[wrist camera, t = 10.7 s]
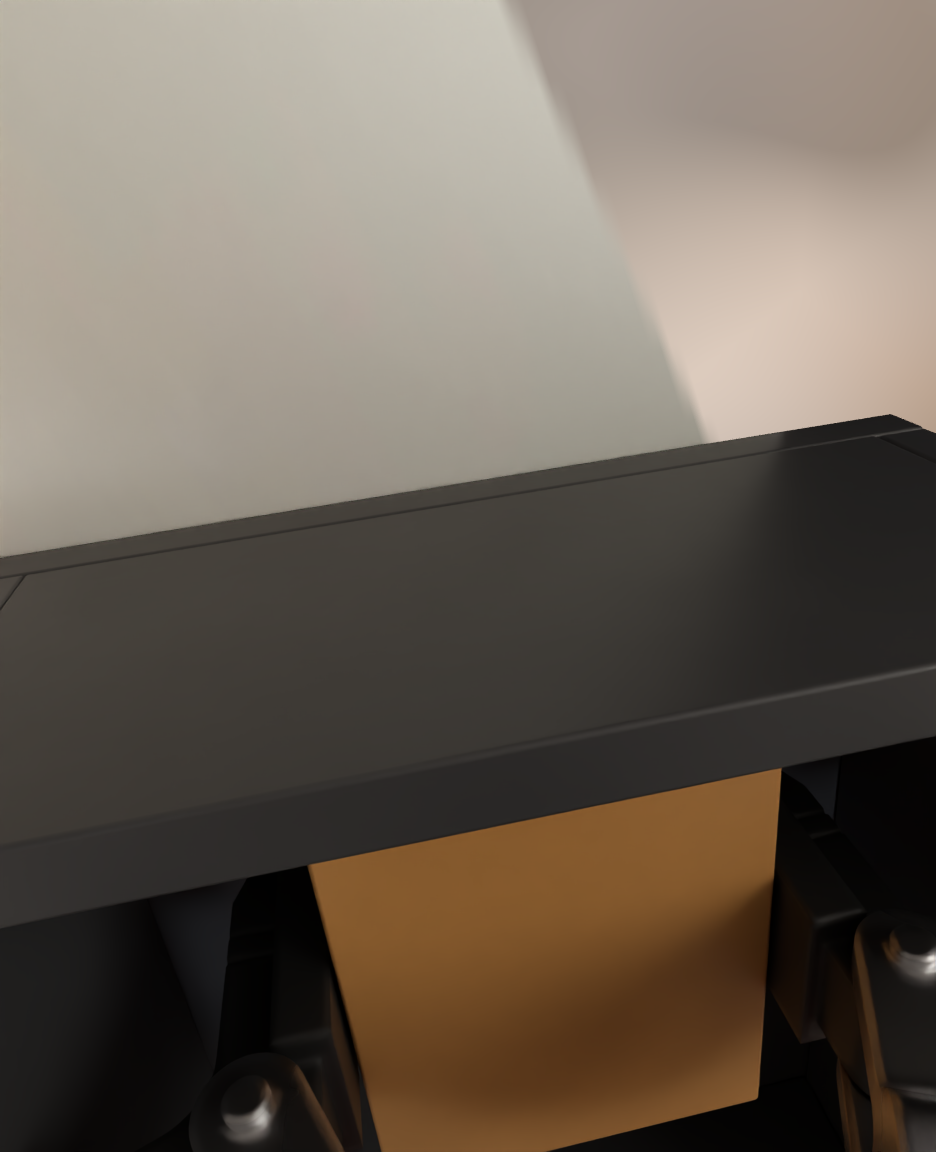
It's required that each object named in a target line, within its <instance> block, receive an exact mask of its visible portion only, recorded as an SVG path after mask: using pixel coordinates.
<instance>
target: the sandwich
mask: <svg viewBox="0 0 936 1152" xmlns="http://www.w3.org/2000/svg"><path fill="white" fill-rule="evenodd" d="M781 769H782V768H779V769H774V770H769V771H764V772H760V773H755V774H750V775H745V776H740V777H735V778H730V779H725V780H721V781H716V782H711V783H706V784H701V785H696V786H691V787H687V788H682V789H677V790H672V791H667V792H662V793H657V794H653V795H648V796H643V797H638V798H633V799H628V800H623V801H619V802H614V803H609V804H604V805H599V806H594V807H589V808H584V809H580V810H575V811H570V812H565V813H560V814H555V815H550V816H546V817H541V818H536V819H531V820H526V821H521V822H516V823H512V824H507V825H502V826H497V827H492V828H487V829H482V830H478V831H473V832H468V833H463V834H458V835H453V836H448V837H443V838H439V839H434V840H429V841H424V842H419V843H414V844H409V845H405V846H400V847H395V848H390V849H385V850H380V851H375V852H371V853H366V854H361V855H356V856H351V857H346V858H341V859H337V860H332V861H327V862H322V863H317V864H312V865H307V867H308V871H309V874H310V878H311V882H312V886H313V890H314V894H315V898H316V901H317V905H318V909H319V913H320V917H321V921H322V925H323V928H324V932H325V936H326V940H327V944H328V948H329V952H330V956H331V959H332V963H333V967H334V971H335V975H336V979H337V983H338V986H339V990H340V994H341V998H342V1002H343V1006H344V1010H345V1013H346V1017H347V1021H348V1025H349V1029H350V1033H351V1037H352V1040H353V1044H354V1048H355V1052H356V1056H357V1060H358V1064H359V1068H360V1071H361V1075H362V1079H363V1083H364V1087H365V1091H366V1095H367V1098H368V1102H369V1106H370V1110H371V1114H372V1118H373V1122H374V1125H375V1129H376V1133H377V1137H378V1141H379V1145H380V1149H381V1152H546V1151H550V1150H554V1149H558V1148H563V1147H567V1146H571V1145H575V1144H579V1143H583V1142H587V1141H591V1140H595V1139H599V1138H603V1137H607V1136H611V1135H615V1134H619V1133H623V1132H627V1131H631V1130H635V1129H639V1128H643V1127H647V1126H651V1125H655V1124H659V1123H663V1122H667V1121H671V1120H675V1119H679V1118H683V1117H688V1116H692V1115H696V1114H700V1113H704V1112H708V1111H712V1110H716V1109H720V1108H724V1107H728V1106H732V1105H736V1104H740V1103H744V1102H748V1101H752V1100H755V1099H757V1098H758V1091H759V1077H760V1063H761V1049H762V1035H763V1021H764V1007H765V993H766V979H767V965H768V951H769V937H770V923H771V909H772V895H773V881H774V867H775V853H776V839H777V825H778V811H779V797H780V783H781Z"/></svg>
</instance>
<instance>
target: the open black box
mask: <svg viewBox="0 0 936 1152" xmlns="http://www.w3.org/2000/svg"><path fill="white" fill-rule="evenodd" d="M779 768H782V769H781V771H783V772H784V773H786V774H788V775H789V776H791V777H792V778H794V779H796V780H797V781H799V782H800V783H802V784H804V785H805V786H806V787H807V789H808V790H809V791H810V792H811V794H812V795H813V796H814V797H815V798H816V800H817V801H818V802H819V803H820V805H821V806H822V807H823V808H824V811H825V814H829V816H830V817H831V818H832V819H833V820H834V822H835V823H836V824H837V825H838V827H839V828H840V831H841V833H842V834H845V835H846V836H847V838H848V839H849V840H850V841H851V843H852V844H853V845H854V846H855V847H856V849H857V850H858V851H859V852H860V854H861V855H862V856H863V857H864V858H865V860H866V861H867V862H868V863H869V865H870V866H871V867H872V868H873V869H874V871H875V872H876V873H877V874H878V876H879V877H880V878H881V879H882V880H883V882H884V883H885V884H886V885H887V887H888V888H889V889H890V890H891V892H892V893H893V894H894V895H895V896H896V898H897V899H898V900H899V901H900V903H901V904H902V905H903V906H904V907H905V908H906V909H907V910H909V911H914V912H918V913H921V914H924V915H927V916H929V917H931V918H934V919H936V433H934V432H931V431H929V430H926V429H922V427H921V426H919V425H916V424H914V423H911V422H909V421H906V420H904V419H901V418H899V417H897V416H894V415H891V414H889V415H883V416H877V417H871V418H864V419H858V420H852V421H846V422H840V423H834V424H827V425H822V426H815V427H809V428H803V429H797V430H790V431H784V432H778V433H772V434H765V435H759V436H754V437H747V438H741V439H735V440H728V441H723V442H716V443H710V444H703V445H697V446H691V447H685V448H679V449H672V450H666V451H660V452H654V453H648V454H641V455H635V456H629V457H623V458H617V459H611V460H604V461H598V462H592V463H586V464H580V465H573V466H567V467H561V468H555V469H549V470H542V471H536V472H530V473H524V474H518V475H512V476H505V477H499V478H493V479H487V480H481V481H474V482H468V483H462V484H456V485H450V486H443V487H437V488H431V489H425V490H419V491H413V492H406V493H400V494H394V495H388V496H382V497H375V498H369V499H363V500H357V501H351V502H344V503H338V504H332V505H326V506H320V507H313V508H307V509H301V510H295V511H289V512H283V513H276V514H270V515H264V516H258V517H252V518H245V519H239V520H233V521H227V522H221V523H214V524H208V525H202V526H196V527H190V528H184V529H177V530H171V531H165V532H159V533H153V534H146V535H140V536H134V537H128V538H122V539H115V540H109V541H103V542H97V543H91V544H85V545H78V546H72V547H66V548H60V549H54V550H47V551H41V552H35V553H29V554H23V555H16V556H10V557H4V558H0V1152H75V1151H89V1152H135V1151H136V1150H138V1149H140V1148H142V1147H143V1146H145V1145H147V1144H149V1143H150V1142H152V1141H154V1140H156V1139H157V1138H159V1137H161V1136H162V1135H164V1134H165V1133H167V1132H169V1131H170V1130H171V1129H173V1128H174V1127H175V1126H176V1125H178V1124H179V1123H180V1122H181V1121H182V1120H183V1119H184V1118H185V1117H186V1116H187V1115H188V1114H189V1113H190V1112H191V1111H192V1109H193V1106H194V1104H195V1102H196V1099H197V1097H198V1096H199V1094H200V1092H201V1091H202V1089H203V1088H204V1086H205V1085H206V1084H207V1083H208V1082H209V1080H210V1079H211V1078H212V1075H213V1072H214V1069H215V1064H216V1057H217V1047H218V1038H219V1028H220V1019H221V1010H222V1000H223V991H224V981H225V972H226V966H227V953H228V943H229V940H230V924H231V915H232V905H233V902H234V900H235V899H236V897H237V895H238V893H239V892H240V890H241V888H242V886H243V884H244V883H245V881H246V879H247V878H249V877H254V876H259V875H264V874H268V873H273V872H278V871H283V870H288V869H293V868H298V867H302V866H307V865H312V864H317V863H322V862H327V861H332V860H337V859H341V858H346V857H351V856H356V855H361V854H366V853H371V852H375V851H380V850H385V849H390V848H395V847H400V846H405V845H409V844H414V843H419V842H424V841H429V840H434V839H439V838H443V837H448V836H453V835H458V834H463V833H468V832H473V831H478V830H482V829H487V828H492V827H497V826H502V825H507V824H512V823H516V822H521V821H526V820H531V819H536V818H541V817H546V816H550V815H555V814H560V813H565V812H570V811H575V810H580V809H584V808H589V807H594V806H599V805H604V804H609V803H614V802H619V801H623V800H628V799H633V798H638V797H643V796H648V795H653V794H657V793H662V792H667V791H672V790H677V789H682V788H687V787H691V786H696V785H701V784H706V783H711V782H716V781H721V780H725V779H730V778H735V777H740V776H745V775H750V774H755V773H760V772H764V771H769V770H774V769H779ZM837 1060H838V1056H837V1055H836V1053H835V1051H834V1050H833V1048H832V1046H831V1045H830V1043H829V1041H828V1040H827V1038H823V1039H819V1040H815V1041H811V1042H807V1043H803V1044H800V1042H799V1040H798V1038H797V1037H796V1035H795V1033H794V1031H793V1030H792V1028H791V1026H790V1024H789V1023H788V1021H787V1019H786V1017H785V1016H784V1014H783V1012H782V1010H781V1008H780V1007H779V1005H778V1003H777V1001H776V1000H775V998H774V996H773V994H772V993H771V991H770V989H769V987H768V986H767V984H766V993H765V1007H764V1021H763V1035H762V1049H761V1063H760V1077H759V1091H758V1098H757V1099H755V1100H752V1101H748V1102H744V1103H740V1104H736V1105H732V1106H728V1107H724V1108H720V1109H716V1110H712V1111H708V1112H704V1113H700V1114H696V1115H692V1116H688V1117H683V1118H679V1119H675V1120H671V1121H667V1122H663V1123H659V1124H655V1125H651V1126H647V1127H643V1128H639V1129H635V1130H631V1131H627V1132H623V1133H619V1134H615V1135H611V1136H607V1137H603V1138H599V1139H595V1140H591V1141H587V1142H583V1143H579V1144H575V1145H571V1146H567V1147H563V1148H558V1149H554V1150H550V1151H546V1152H845V1145H844V1136H843V1128H842V1120H841V1112H840V1103H839V1095H838V1087H837V1079H836V1067H837ZM358 1068H359V1064H358ZM359 1086H360V1104H361V1122H362V1140H363V1149H359V1150H354V1151H350V1152H381V1149H380V1145H379V1141H378V1137H377V1133H376V1129H375V1125H374V1122H373V1118H372V1114H371V1110H370V1106H369V1102H368V1098H367V1095H366V1091H365V1087H364V1083H363V1079H362V1075H361V1071H360V1068H359Z"/></svg>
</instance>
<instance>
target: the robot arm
mask: <svg viewBox="0 0 936 1152" xmlns="http://www.w3.org/2000/svg"><path fill="white" fill-rule="evenodd" d="M766 984H767V986H768V987H769V989H770V991H771V993H772V994H773V996H774V998H775V1000H776V1001H777V1003H778V1005H779V1007H780V1008H781V1010H782V1012H783V1014H784V1016H785V1017H786V1019H787V1021H788V1023H789V1024H790V1026H791V1028H792V1030H793V1031H794V1033H795V1035H796V1037H797V1038H798V1040H799V1042H800V1044H803V1043H807V1042H811V1041H815V1040H819V1039H823V1038H827V1040H828V1041H829V1043H830V1045H831V1046H832V1048H833V1050H834V1051H835V1053H836V1055H837V1056H838V1060H837V1067H836V1079H837V1087H838V1095H839V1103H840V1112H841V1120H842V1128H843V1136H844V1145H845V1152H936V919H934V918H931V917H929V916H927V915H924V914H921V913H918V912H914V911H909V910H907V909H906V908H905V907H904V906H903V905H902V904H901V903H900V901H899V900H898V899H897V898H896V896H895V895H894V894H893V893H892V892H891V890H890V889H889V888H888V887H887V885H886V884H885V883H884V882H883V880H882V879H881V878H880V877H879V876H878V874H877V873H876V872H875V871H874V869H873V868H872V867H871V866H870V865H869V863H868V862H867V861H866V860H865V858H864V857H863V856H862V855H861V854H860V852H859V851H858V850H857V849H856V847H855V846H854V845H853V844H852V843H851V841H850V840H849V839H848V838H847V836H846V835H845V834H842V833H841V831H840V828H839V827H838V825H837V824H836V823H835V822H834V820H833V819H832V818H831V817H830V816H829V814H825V811H824V808H823V807H822V806H821V805H820V803H819V802H818V801H817V800H816V798H815V797H814V796H813V795H812V794H811V792H810V791H809V790H808V789H807V787H806V786H805V785H804V784H802V783H800V782H799V781H797V780H796V779H794V778H792V777H791V776H789V775H788V774H786V773H784V772H783V771H781V783H780V797H779V811H778V825H777V839H776V853H775V867H774V881H773V895H772V909H771V923H770V937H769V951H768V965H767V979H766ZM359 1149H363V1140H362V1122H361V1104H360V1086H359V1068H358V1060H357V1056H356V1052H355V1048H354V1044H353V1040H352V1037H351V1033H350V1029H349V1025H348V1021H347V1017H346V1013H345V1010H344V1006H343V1002H342V998H341V994H340V990H339V986H338V983H337V979H336V975H335V971H334V967H333V963H332V959H331V956H330V952H329V948H328V944H327V940H326V936H325V932H324V928H323V925H322V921H321V917H320V913H319V909H318V905H317V901H316V898H315V894H314V890H313V886H312V882H311V878H310V874H309V871H308V867H307V866H302V867H298V868H293V869H288V870H283V871H278V872H273V873H268V874H264V875H259V876H254V877H249V878H247V879H246V881H245V883H244V884H243V886H242V888H241V890H240V892H239V893H238V895H237V897H236V899H235V900H234V902H233V905H232V915H231V924H230V940H229V943H228V953H227V966H226V972H225V981H224V991H223V1000H222V1010H221V1019H220V1028H219V1038H218V1047H217V1057H216V1064H215V1069H214V1072H213V1075H212V1078H211V1079H210V1080H209V1082H208V1083H207V1084H206V1085H205V1086H204V1088H203V1089H202V1091H201V1092H200V1094H199V1096H198V1097H197V1099H196V1102H195V1104H194V1106H193V1109H192V1111H191V1112H190V1113H189V1114H188V1115H187V1116H186V1117H185V1118H184V1119H183V1120H182V1121H181V1122H180V1123H179V1124H178V1125H176V1126H175V1127H174V1128H173V1129H171V1130H170V1131H169V1132H167V1133H165V1134H164V1135H162V1136H161V1137H159V1138H157V1139H156V1140H154V1141H152V1142H150V1143H149V1144H147V1145H145V1146H143V1147H142V1148H140V1149H138V1150H136V1151H135V1152H350V1151H354V1150H359ZM75 1152H89V1151H75Z"/></svg>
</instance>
